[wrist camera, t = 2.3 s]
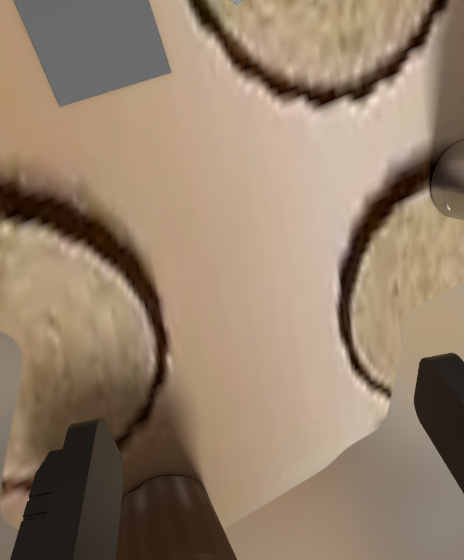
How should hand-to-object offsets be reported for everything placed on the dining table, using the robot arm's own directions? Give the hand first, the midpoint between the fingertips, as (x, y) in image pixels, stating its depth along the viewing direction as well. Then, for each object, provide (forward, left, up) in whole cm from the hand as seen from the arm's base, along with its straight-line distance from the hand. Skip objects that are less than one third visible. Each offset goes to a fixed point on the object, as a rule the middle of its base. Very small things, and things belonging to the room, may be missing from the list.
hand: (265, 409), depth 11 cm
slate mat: (-2, -18, -32) cm, 37 cm away
